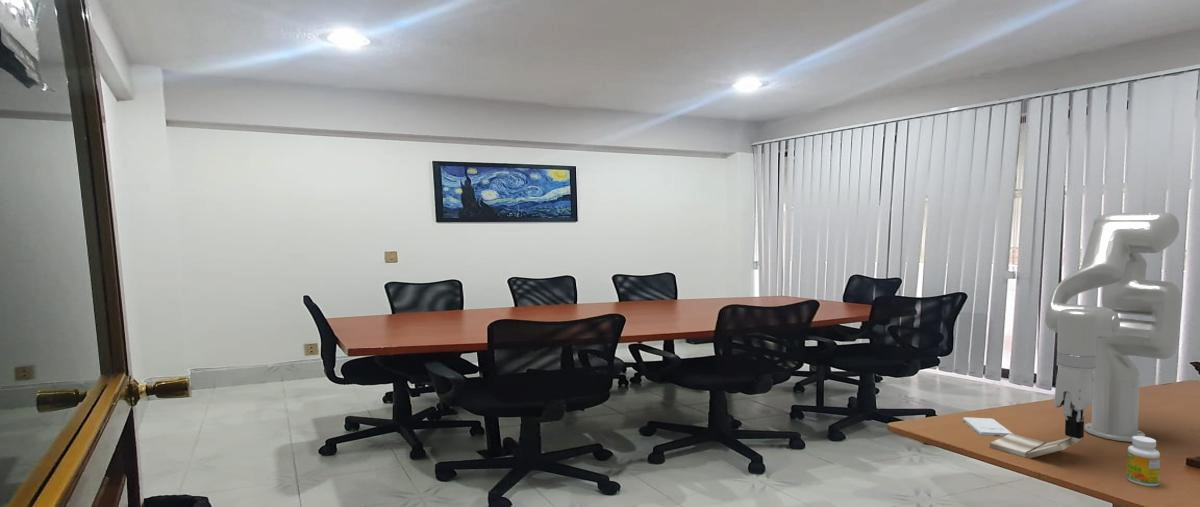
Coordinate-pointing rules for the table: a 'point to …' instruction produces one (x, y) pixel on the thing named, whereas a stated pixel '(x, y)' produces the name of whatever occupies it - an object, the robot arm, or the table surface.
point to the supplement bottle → (1143, 461)
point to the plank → (1053, 446)
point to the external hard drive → (986, 426)
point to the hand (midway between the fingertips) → (1074, 436)
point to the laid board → (1016, 444)
